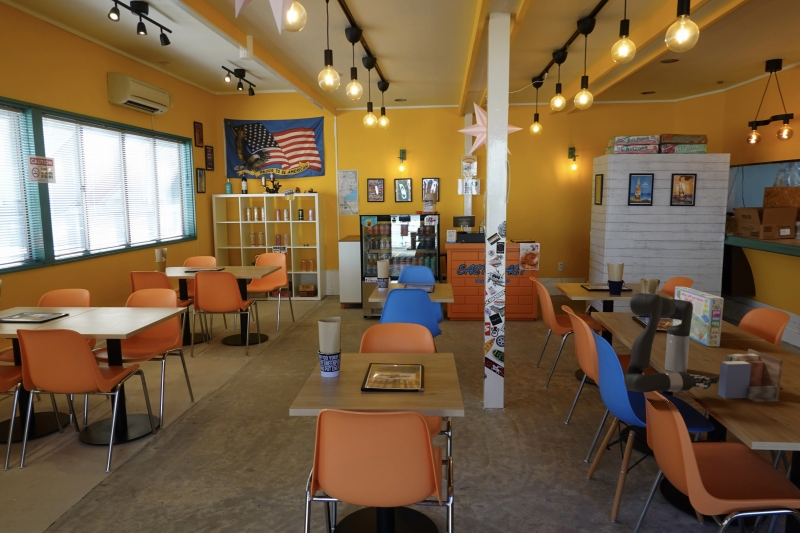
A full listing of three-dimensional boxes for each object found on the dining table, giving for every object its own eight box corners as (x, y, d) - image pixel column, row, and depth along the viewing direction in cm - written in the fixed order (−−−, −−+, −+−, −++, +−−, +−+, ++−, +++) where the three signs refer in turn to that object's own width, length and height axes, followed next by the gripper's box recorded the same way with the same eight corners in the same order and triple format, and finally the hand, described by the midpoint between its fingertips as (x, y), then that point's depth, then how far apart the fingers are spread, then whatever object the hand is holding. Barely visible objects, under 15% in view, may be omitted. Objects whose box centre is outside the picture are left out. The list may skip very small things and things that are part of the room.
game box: (720, 347, 288) (724, 298, 285) (707, 347, 288) (711, 297, 285) (683, 329, 328) (686, 286, 325) (671, 329, 328) (674, 286, 325)
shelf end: (754, 401, 208) (758, 362, 206) (721, 385, 226) (724, 349, 224) (782, 401, 209) (786, 361, 207) (747, 384, 228) (750, 348, 226)
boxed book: (725, 398, 211) (727, 364, 210) (717, 395, 215) (720, 361, 214) (748, 397, 212) (751, 363, 211) (740, 394, 216) (743, 360, 215)
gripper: (687, 377, 203) (729, 376, 205) (666, 367, 216) (706, 366, 218) (685, 396, 204) (727, 395, 206) (665, 384, 217) (704, 383, 219)
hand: (716, 380), depth 212 cm, fingers closed
